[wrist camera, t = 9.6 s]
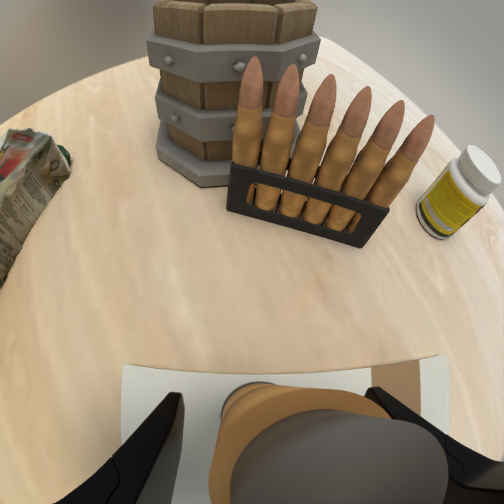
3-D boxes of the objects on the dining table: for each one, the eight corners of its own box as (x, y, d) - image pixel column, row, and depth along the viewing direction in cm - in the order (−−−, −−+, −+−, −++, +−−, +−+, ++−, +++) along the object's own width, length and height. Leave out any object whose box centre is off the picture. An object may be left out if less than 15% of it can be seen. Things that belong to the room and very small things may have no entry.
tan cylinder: (295, 447, 13) (443, 557, 1) (220, 449, 13) (200, 611, 1) (295, 380, 15) (472, 358, 3) (221, 380, 14) (186, 387, 3)
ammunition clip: (363, 229, 21) (443, 113, 10) (361, 249, 20) (452, 134, 10) (233, 191, 22) (240, 47, 11) (225, 210, 21) (228, 60, 10)
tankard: (310, 184, 23) (369, 13, 9) (155, 193, 21) (110, 9, 8) (270, 71, 31) (285, -29, 18) (173, 75, 30) (166, -28, 16)
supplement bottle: (448, 250, 21) (506, 199, 13) (410, 222, 22) (464, 161, 14) (453, 215, 23) (501, 165, 15) (419, 190, 24) (463, 132, 16)
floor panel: (420, 540, 9) (428, 544, 8) (144, 571, 7) (141, 578, 6) (438, 355, 17) (448, 353, 16) (129, 365, 15) (122, 363, 14)
